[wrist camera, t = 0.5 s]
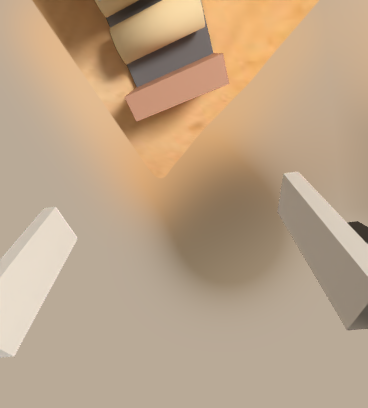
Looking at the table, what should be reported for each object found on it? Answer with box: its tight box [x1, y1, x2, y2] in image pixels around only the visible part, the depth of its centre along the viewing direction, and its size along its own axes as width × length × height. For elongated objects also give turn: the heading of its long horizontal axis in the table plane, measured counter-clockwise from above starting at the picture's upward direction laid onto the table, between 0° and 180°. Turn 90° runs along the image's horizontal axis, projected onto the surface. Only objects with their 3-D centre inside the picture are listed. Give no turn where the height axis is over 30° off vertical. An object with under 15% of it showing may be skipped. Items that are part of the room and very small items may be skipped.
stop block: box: [125, 53, 229, 122], centre depth 28 cm, size 3×12×9 cm, turn 110°
